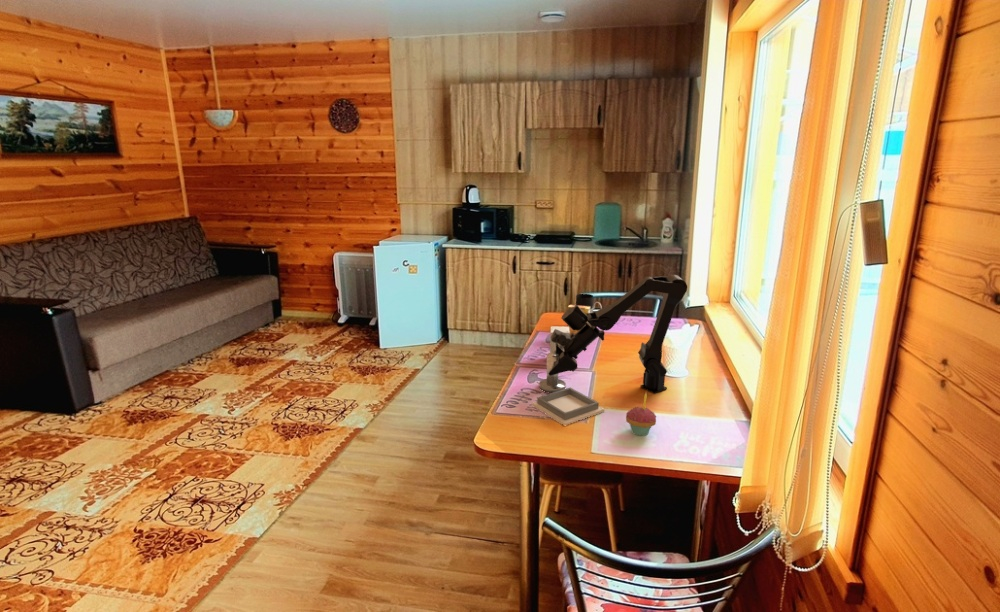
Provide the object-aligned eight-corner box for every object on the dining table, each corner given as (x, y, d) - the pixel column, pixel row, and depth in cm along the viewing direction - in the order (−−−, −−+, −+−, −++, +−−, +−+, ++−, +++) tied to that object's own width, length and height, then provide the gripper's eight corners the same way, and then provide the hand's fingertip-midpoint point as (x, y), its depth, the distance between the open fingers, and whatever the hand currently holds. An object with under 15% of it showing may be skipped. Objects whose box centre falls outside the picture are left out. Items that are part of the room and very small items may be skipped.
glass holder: (582, 323, 255) (584, 292, 251) (606, 331, 245) (608, 298, 241) (569, 327, 250) (570, 295, 246) (593, 335, 240) (595, 302, 235)
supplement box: (568, 356, 216) (569, 326, 212) (569, 364, 209) (570, 332, 205) (549, 356, 217) (550, 325, 213) (549, 363, 210) (550, 332, 206)
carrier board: (603, 411, 172) (604, 403, 171) (564, 426, 163) (564, 417, 162) (570, 393, 184) (570, 385, 183) (531, 405, 176) (531, 397, 175)
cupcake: (633, 421, 165) (636, 385, 162) (660, 430, 160) (663, 393, 157) (620, 433, 159) (622, 395, 156) (647, 442, 154) (650, 403, 150)
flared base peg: (570, 388, 188) (571, 355, 184) (550, 395, 183) (550, 362, 179) (554, 380, 195) (554, 348, 191) (533, 386, 190) (534, 353, 187)
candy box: (566, 341, 233) (567, 306, 228) (568, 338, 236) (569, 304, 232) (587, 343, 230) (588, 308, 225) (589, 340, 233) (590, 305, 229)
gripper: (563, 314, 191) (531, 344, 195) (568, 332, 173) (532, 364, 177) (585, 335, 193) (553, 365, 196) (592, 355, 175) (556, 387, 179)
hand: (548, 369), depth 187 cm, fingers open, 8 cm apart
